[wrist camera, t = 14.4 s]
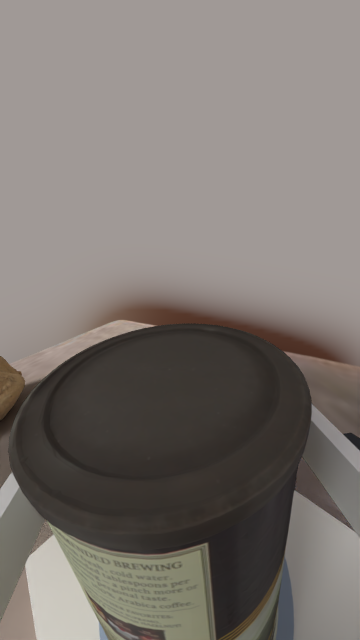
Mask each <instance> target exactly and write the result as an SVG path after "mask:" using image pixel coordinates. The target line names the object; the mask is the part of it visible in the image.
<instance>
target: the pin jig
mask: <svg viewBox="0 0 360 640" xmlns="http://www.w3.org/2000/svg"><path fill="white" fill-rule="evenodd" d="M25 568H26V574H27V581H28V587H29V593H30V600H31V606H32V613H33V619H34V625H35V632H36V638H37V640H108V638H107V636H106V634H105V632H104V630H103V628H102V626H101V624H100V622H99V621H98V619H97V617H96V615H95V613H94V611H93V610H92V608H91V606H90V604H89V602H88V600H87V598H86V596H85V594H84V592H83V590H82V588H81V586H80V584H79V582H78V580H77V578H76V576H75V574H74V572H73V570H72V568H71V566H70V564H69V562H68V561H67V559H66V557H65V555H64V553H63V551H62V549H61V547H60V545H59V543H58V541H57V539H56V538H55V536H54V534H53V535H52V536H51V537H50V538H49V539H48V540H47V541H46V542H44V543H43V544H42V545H41V546H40V547H39V548H38V549H37V550H35V551H34V552H33V553H32V554H31V555H30V556H29V557H28V559H27V562H26V564H25ZM275 640H360V538H359V536H358V535H357V533H356V532H355V531H353V530H352V529H350V528H349V527H347V526H346V525H345V524H343V523H342V522H340V521H339V520H337V519H336V518H334V517H333V516H332V515H330V514H329V513H327V512H326V511H324V510H323V509H321V508H320V507H318V506H317V505H316V504H314V503H313V502H311V501H310V500H308V499H307V498H305V497H304V496H303V495H301V494H300V493H298V492H297V491H295V490H294V495H293V502H292V509H291V516H290V523H289V530H288V537H287V542H286V549H285V557H284V564H283V572H282V580H281V587H280V594H279V602H278V624H277V634H276V639H275Z"/></svg>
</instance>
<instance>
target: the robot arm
mask: <svg viewBox="0 0 360 640" xmlns="http://www.w3.org/2000/svg"><path fill="white" fill-rule="evenodd" d="M302 457H303V458H304V460H305V461H306V462H307V464H308V465H309V467H310V468H311V469H312V471H313V472H314V474H315V475H316V477H317V478H318V479H319V481H320V482H321V484H322V485H323V486H324V488H325V489H326V491H327V492H328V494H329V495H330V496H331V498H332V499H333V501H334V502H335V504H336V505H337V506H338V508H339V509H340V511H341V512H342V513H343V515H344V516H345V518H346V519H347V521H348V522H349V523H350V525H351V526H352V528H353V529H354V531H355V532H356V533H357V535H358V536H359V538H360V438H359V437H357V436H355V435H354V434H352V433H347V434H342V433H341V432H340V431H339V430H338V429H337V428H336V427H335V426H334V425H333V424H332V423H331V422H330V421H329V420H328V419H327V418H326V417H325V416H324V415H323V414H322V413H321V412H320V411H319V410H318V409H317V408H316V407H315V406H314V405H313V404H312V416H311V424H310V430H309V435H308V438H307V442H306V446H305V449H304V453H303V455H302ZM44 520H45V519H44V518H43V517H42V516H41V515H40V514H39V513H38V512H37V511H36V509H35V508H34V507H33V506H32V505H31V503H30V502H29V501H28V499H27V498H26V497H25V495H24V494H23V493H22V491H21V489H20V487H19V485H18V483H17V481H16V479H15V477H14V475H13V472H12V473H11V474H10V475H9V477H8V478H7V480H6V481H5V483H4V484H3V486H2V487H1V489H0V621H1V619H2V617H3V614H4V612H5V610H6V608H7V605H8V603H9V601H10V598H11V596H12V594H13V592H14V589H15V587H16V585H17V582H18V580H19V578H20V575H21V573H22V571H23V569H24V566H25V564H26V562H27V559H28V557H29V555H30V553H31V550H32V548H33V546H34V543H35V541H36V539H37V536H38V534H39V532H40V530H41V527H42V525H43V523H44Z"/></svg>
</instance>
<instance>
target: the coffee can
mask: <svg viewBox="0 0 360 640" xmlns="http://www.w3.org/2000/svg"><path fill="white" fill-rule="evenodd" d="M311 416H312V402H311V396H310V391H309V388H308V385H307V382H306V380H305V377H304V375H303V374H302V372H301V371H300V369H299V368H298V366H297V365H296V364H295V363H294V362H293V361H292V359H291V358H290V357H288V356H287V355H286V354H285V353H284V352H283V351H281V350H280V349H279V348H277V347H276V346H274V345H273V344H271V343H269V342H267V341H266V340H264V339H262V338H260V337H258V336H255V335H253V334H250V333H247V332H244V331H241V330H237V329H233V328H228V327H223V326H218V325H207V324H172V325H161V326H155V327H149V328H144V329H139V330H135V331H131V332H128V333H124V334H121V335H118V336H115V337H112V338H110V339H107V340H105V341H102V342H100V343H98V344H95V345H93V346H91V347H89V348H87V349H85V350H83V351H81V352H80V353H78V354H76V355H75V356H73V357H71V358H70V359H68V360H67V361H65V362H64V363H62V364H61V365H59V366H58V367H57V368H56V369H54V370H53V371H52V372H51V373H50V374H48V375H47V376H46V377H45V378H44V379H43V380H42V381H41V382H40V383H39V384H38V385H37V386H36V387H35V388H34V389H33V390H32V391H31V392H30V394H29V395H28V396H27V398H26V400H25V401H24V402H23V404H22V405H21V407H20V409H19V411H18V413H17V415H16V417H15V420H14V422H13V426H12V429H11V433H10V437H9V448H8V453H9V459H10V466H11V469H12V472H13V475H14V477H15V479H16V481H17V483H18V485H19V487H20V489H21V491H22V493H23V494H24V495H25V497H26V498H27V499H28V501H29V502H30V503H31V505H32V506H33V507H34V508H35V509H36V511H37V512H38V513H39V514H40V515H41V516H42V517H43V518H44V519H45V520H47V522H48V524H49V526H50V528H51V530H52V532H53V534H54V536H55V538H56V539H57V541H58V543H59V545H60V547H61V549H62V551H63V553H64V555H65V557H66V559H67V561H68V562H69V564H70V566H71V568H72V570H73V572H74V574H75V576H76V578H77V580H78V582H79V584H80V586H81V588H82V590H83V592H84V594H85V596H86V598H87V600H88V602H89V604H90V606H91V608H92V610H93V611H94V613H95V615H96V617H97V619H98V621H99V622H100V624H101V626H102V628H103V630H104V632H105V634H106V636H107V638H108V640H275V639H276V634H277V624H278V602H279V594H280V587H281V580H282V572H283V564H284V557H285V549H286V542H287V537H288V530H289V523H290V516H291V509H292V502H293V495H294V490H295V482H296V474H297V469H298V464H299V461H300V459H301V457H302V455H303V453H304V449H305V446H306V442H307V438H308V435H309V430H310V424H311Z"/></svg>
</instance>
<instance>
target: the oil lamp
mask: <svg viewBox="0 0 360 640" xmlns="http://www.w3.org/2000/svg"><path fill="white" fill-rule="evenodd" d="M21 375H22V373H21V372H20V371H17V370H16V369H14V368H13V367H11V366H10V365H9V364H8V363H7V361H6V360H5V359H4V358H3V357H1V356H0V421H1V420H2V419H3V418H4V417H5V416H6V414H7V413H8V412H9V411H10V409H11V408H12V407H13V405H14V404H15V403H16V401H17V400H18V398H19V396H20V394H21V392H22V391H23V388H24V386H25V380H24V378H23V377H22V376H21Z"/></svg>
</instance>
